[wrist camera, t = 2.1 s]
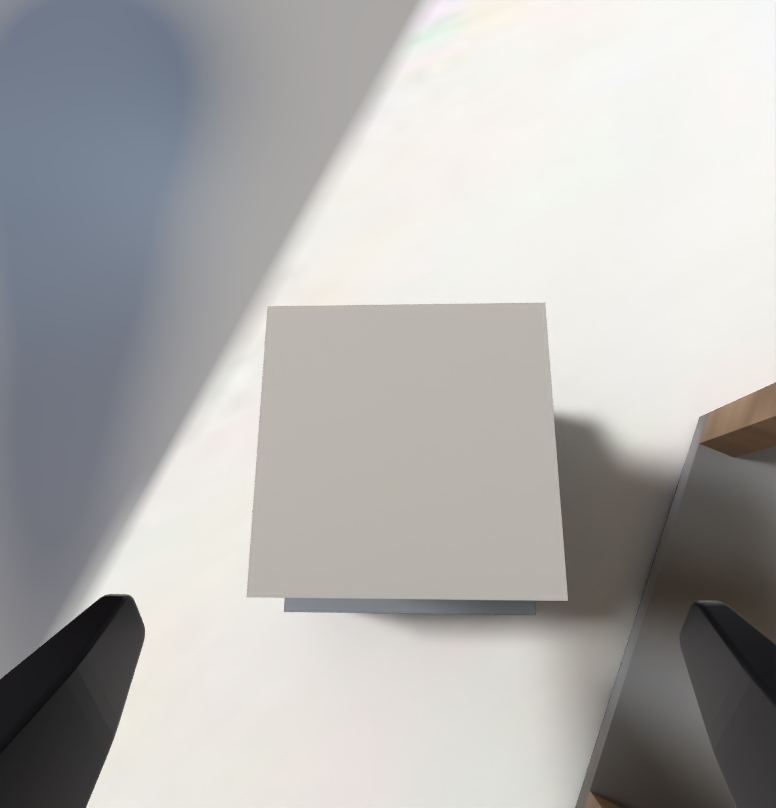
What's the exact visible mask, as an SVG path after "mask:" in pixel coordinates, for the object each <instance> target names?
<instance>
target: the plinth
mask: <svg viewBox="0 0 776 808" xmlns="http://www.w3.org/2000/svg"><path fill="white" fill-rule="evenodd" d="M284 612H339V613H417V614H495V615H536V612H535V601H533V600H447V599H360V598H285V603H284Z"/></svg>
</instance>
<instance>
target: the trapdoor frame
mask: <svg viewBox="0 0 776 808" xmlns="http://www.w3.org/2000/svg"><path fill="white" fill-rule="evenodd" d="M698 600H712V601H721V602H723V603H725V604H727V605H728V606H729V607H731V608H732V609H733V610H734V611H736V612H737V613H738V614H739V615H741V616H742V617H743V618H744V619H746V620H747V621H748V622H749V623H750V624H752V625H753V626H754V627H755V628H757V629H758V630H759V631H760V632H762V633H763V634H764V635H765V636H767V637H768V638H769V639H770V640H771V641H773V642H774V643H775V644H776V383H774V384H771V385H769V386H767V387H765V388H763V389H760V390H758V391H756V392H754V393H752V394H749V395H747V396H745V397H743V398H741V399H738V400H736V401H734V402H732V403H730V404H727V405H725V406H723V407H721V408H719V409H716V410H714V411H712V412H710V413H707V414H705V415H703V416H701V417H699V420H698V424H697V427H696V430H695V433H694V436H693V439H692V442H691V446H690V449H689V452H688V455H687V458H686V461H685V464H684V468H683V471H682V474H681V477H680V480H679V483H678V486H677V490H676V493H675V496H674V499H673V502H672V505H671V508H670V512H669V515H668V518H667V521H666V524H665V527H664V531H663V534H662V537H661V540H660V543H659V546H658V549H657V553H656V556H655V559H654V562H653V565H652V568H651V571H650V575H649V578H648V581H647V584H646V587H645V590H644V593H643V597H642V600H641V603H640V606H639V609H638V612H637V615H636V619H635V622H634V625H633V628H632V631H631V634H630V637H629V641H628V644H627V647H626V650H625V653H624V656H623V659H622V663H621V666H620V669H619V672H618V675H617V678H616V681H615V685H614V688H613V691H612V694H611V697H610V700H609V703H608V707H607V710H606V713H605V716H604V719H603V722H602V725H601V729H600V732H599V735H598V738H597V741H596V744H595V747H594V751H593V754H592V757H591V760H590V763H589V766H588V769H587V773H586V776H585V779H584V782H583V785H582V788H581V791H580V795H579V798H578V801H577V804H576V807H575V808H736V806H735V804H734V802H733V799H732V797H731V795H730V792H729V790H728V787H727V785H726V783H725V780H724V778H723V775H722V773H721V771H720V768H719V766H718V763H717V761H716V758H715V756H714V753H713V750H712V747H711V744H710V741H709V739H708V736H707V732H706V729H705V726H704V723H703V720H702V716H701V713H700V710H699V707H698V703H697V700H696V697H695V694H694V690H693V687H692V684H691V681H690V678H689V674H688V671H687V668H686V665H685V661H684V658H683V655H682V652H681V648H680V643H679V636H680V631H681V629H682V626H683V623H684V621H685V618H686V616H687V613H688V611H689V608H690V606H691V604H692V603H693V602H694V601H698Z"/></svg>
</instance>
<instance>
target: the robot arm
mask: <svg viewBox="0 0 776 808" xmlns="http://www.w3.org/2000/svg"><path fill="white" fill-rule="evenodd" d="M144 638H145V627H144V623H143V621H142V618H141V616H140V613H139V611H138V608H137V606H136V603H135V601H134V599H133V597H131V596H130V595H127V594H109V595H105V596H103V597H101V598H100V599H98V600H97V601H96V602H95V603H93V604H92V605H91V606H90V607H88V608H87V609H86V610H85V611H84V612H82V613H81V614H80V615H79V616H77V617H76V618H75V619H74V620H73V621H71V622H70V623H69V624H68V625H66V626H65V627H64V628H63V629H61V630H60V631H59V632H58V633H57V634H55V635H54V636H53V637H52V638H50V639H49V640H48V641H47V642H46V643H44V644H43V645H42V646H41V647H39V648H38V649H37V650H36V651H34V653H32V654H31V655H30V656H28V657H27V658H26V659H25V660H23V661H22V662H21V663H20V664H19V665H18V666H16V667H15V668H14V669H12V670H11V671H10V672H9V673H8V674H6V675H5V676H4V677H3V678H1V679H0V808H86V806H87V804H88V801H89V799H90V797H91V794H92V792H93V789H94V787H95V784H96V782H97V779H98V777H99V775H100V772H101V770H102V767H103V765H104V762H105V760H106V758H107V755H108V753H109V750H110V747H111V745H112V742H113V740H114V737H115V734H116V731H117V728H118V725H119V722H120V718H121V715H122V712H123V709H124V705H125V702H126V699H127V695H128V692H129V689H130V685H131V682H132V679H133V675H134V672H135V669H136V666H137V662H138V659H139V656H140V652H141V649H142V646H143V642H144ZM679 643H680V648H681V652H682V655H683V658H684V661H685V665H686V668H687V671H688V674H689V678H690V681H691V684H692V687H693V690H694V694H695V697H696V700H697V703H698V707H699V710H700V713H701V716H702V720H703V723H704V726H705V729H706V732H707V736H708V739H709V741H710V744H711V747H712V750H713V753H714V756H715V758H716V761H717V763H718V766H719V768H720V771H721V773H722V775H723V778H724V780H725V783H726V785H727V787H728V790H729V792H730V795H731V797H732V799H733V802H734V804H735V806H736V808H776V644H775V643H774V642H773V641H771V640H770V639H769V638H768V637H767V636H765V635H764V634H763V633H762V632H760V631H759V630H758V629H757V628H755V627H754V626H753V625H752V624H750V623H749V622H748V621H747V620H746V619H744V618H743V617H742V616H741V615H739V614H738V613H737V612H736V611H734V610H733V609H732V608H731V607H729V606H728V605H727V604H725V603H723V602H721V601H712V600H698V601H694V602H693V603H692V604H691V606H690V608H689V611H688V613H687V616H686V618H685V621H684V623H683V626H682V629H681V631H680V636H679Z"/></svg>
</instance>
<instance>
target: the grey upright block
mask: <svg viewBox="0 0 776 808" xmlns="http://www.w3.org/2000/svg"><path fill="white" fill-rule="evenodd" d="M247 597H274V598H360V599H447V600H533V601H568V593H567V580H566V567H565V554H564V541H563V528H562V515H561V502H560V489H559V477H558V464H557V451H556V438H555V425H554V412H553V399H552V386H551V373H550V360H549V347H548V334H547V321H546V308H545V303H494V304H419V305H344V306H268V309H267V323H266V337H265V351H264V364H263V378H262V392H261V406H260V420H259V434H258V447H257V461H256V475H255V489H254V503H253V516H252V530H251V544H250V558H249V572H248V585H247Z"/></svg>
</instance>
